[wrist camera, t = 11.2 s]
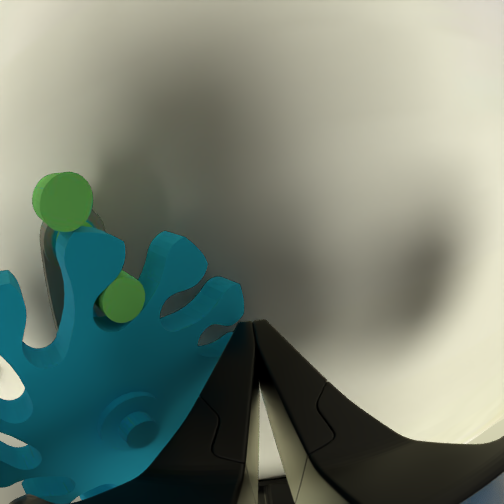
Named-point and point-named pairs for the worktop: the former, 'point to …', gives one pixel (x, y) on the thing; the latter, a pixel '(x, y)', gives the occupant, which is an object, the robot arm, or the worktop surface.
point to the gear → (104, 351)
